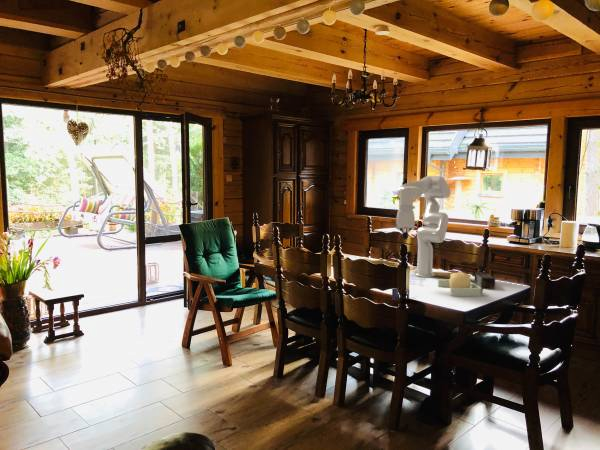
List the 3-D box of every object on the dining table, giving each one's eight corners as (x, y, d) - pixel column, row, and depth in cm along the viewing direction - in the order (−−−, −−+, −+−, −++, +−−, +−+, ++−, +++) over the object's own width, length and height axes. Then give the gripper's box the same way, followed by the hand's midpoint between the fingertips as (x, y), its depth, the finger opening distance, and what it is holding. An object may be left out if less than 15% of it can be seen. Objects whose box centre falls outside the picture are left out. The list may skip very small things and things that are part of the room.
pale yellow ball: (470, 289, 277) (471, 270, 276) (470, 294, 266) (471, 275, 265) (449, 287, 281) (450, 269, 280) (448, 292, 270) (449, 273, 269)
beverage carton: (487, 282, 297) (488, 271, 296) (495, 289, 278) (496, 278, 277) (474, 281, 298) (474, 271, 298) (481, 289, 279) (481, 277, 279)
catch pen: (437, 286, 285) (438, 279, 284) (466, 286, 285) (466, 279, 285) (451, 296, 262) (451, 288, 262) (482, 295, 263) (482, 288, 263)
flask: (408, 298, 257) (408, 278, 256) (410, 299, 254) (410, 279, 253) (391, 298, 256) (391, 278, 255) (392, 300, 254) (393, 280, 252)
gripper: (416, 207, 288) (415, 238, 290) (391, 207, 287) (390, 238, 289) (420, 208, 280) (419, 240, 282) (394, 208, 279) (393, 240, 282)
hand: (404, 239), depth 286 cm, fingers closed
